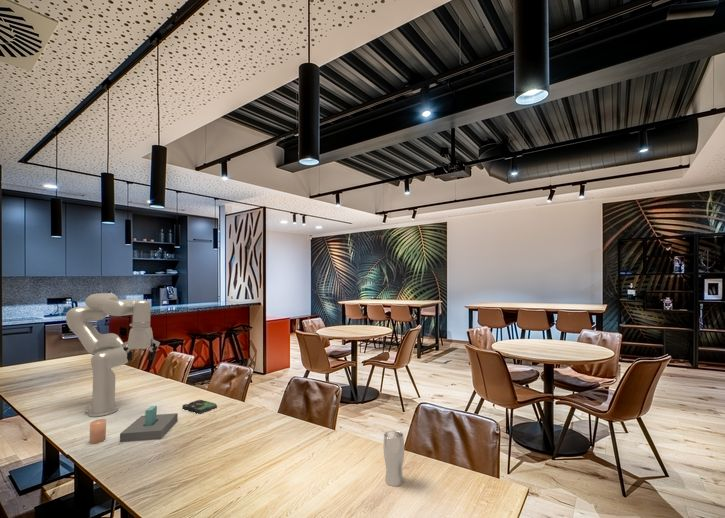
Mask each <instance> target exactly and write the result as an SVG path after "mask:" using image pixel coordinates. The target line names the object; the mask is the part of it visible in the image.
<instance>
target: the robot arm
mask: <svg viewBox="0 0 725 518" xmlns="http://www.w3.org/2000/svg"><path fill="white" fill-rule="evenodd" d="M84 303H85V305H84V306H76V307H73V308H71V309H69V310H68V311H67V312H66V315H65V322H66V324H67V326H68V328H69V330H70V331H71V332H72V333H74V334H75V336H76V337H77V338H78V340H79V342H80V344H82V346H83V347H84V349H85V350H86V352H87V353H89V354H93V355H92V356H91V359H90V366H91V369H92V395H91V397H92V398H91V402H92V403H91V404H84V407H83V411H88V410H89V411H88V412H87V415H88V417H91V418H92V417H95V418H96V417H103V416H108V415H111V414H114V413H116V412H117V411H119V407H118V405H116V404H115V403H116V374H115V372H114V371H113V369H112V368H115V367H116V368H117V367H119V366H122V365H126V364H127V363H128V362H130V361H133V350H146V349H147V350H149V353H148V360H149V361H151V360H153V359H154V357H155V351H156V350H157V349H158V348H159V346H160V344H161V342H160V341H158V340H156V339H154V335H153V330H152V329H153V328H152V327H151V308H152V307H151V306H152V305H151V304H152V303H151V301H150V300H140V299H129V300H128V299H127V300H119V297H118V296H117V294H115V293H112V292H102V293H101V292H100V293H93V294H89V295H88V296H86V299H85V301H84ZM107 316H113V317H123V316H132V322H131V323H129V327H131V328H130V330H129V333H128V340H127V341H125V342H123V340H122V339H121V337H120V336H119V335H118V334H116V333H113V332H109V333H100V332H99V331H98V330H97V328H96V327H95V326H93V325H92V324H90V323H88V322H95V321H101V320H104V319H105V318H106V317H107ZM154 344H155V346H153V345H154Z"/></svg>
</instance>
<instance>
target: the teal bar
mask: <svg viewBox="0 0 725 518" xmlns="http://www.w3.org/2000/svg"><path fill="white" fill-rule="evenodd" d="M157 407H158V405H150V406H149V407H148V408H147V409H146V410H145V414H144V415H145V426H152V425H153V424H154V423H155V422H156V416H157V415H158V414H157V411H158V408H157Z"/></svg>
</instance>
